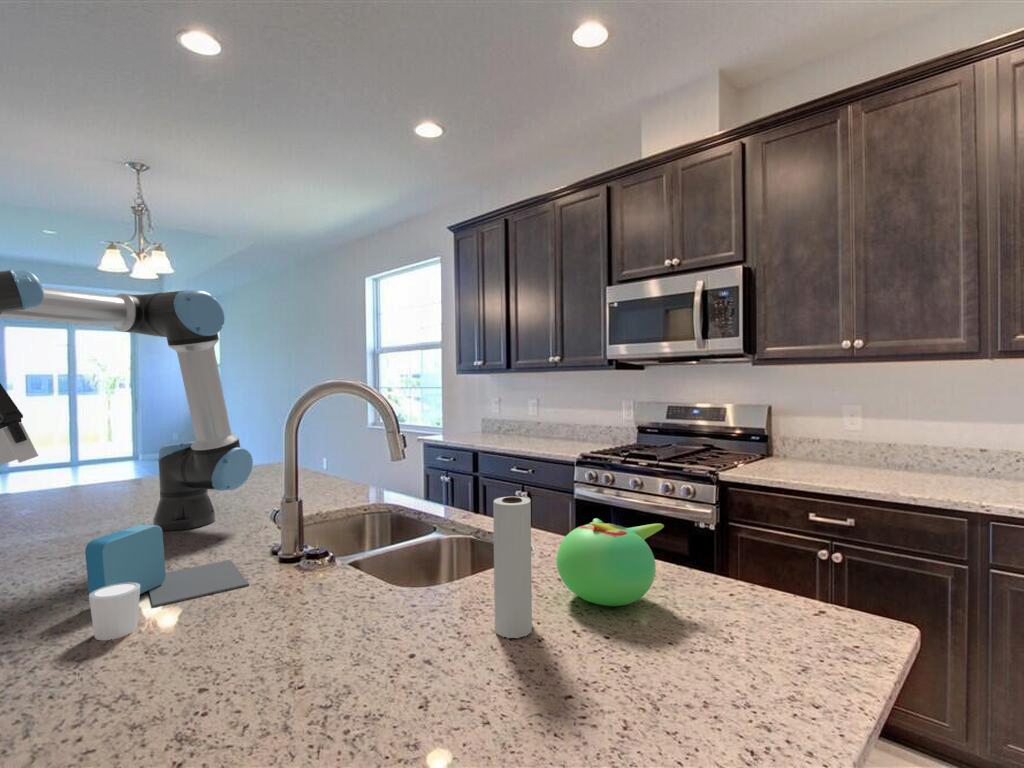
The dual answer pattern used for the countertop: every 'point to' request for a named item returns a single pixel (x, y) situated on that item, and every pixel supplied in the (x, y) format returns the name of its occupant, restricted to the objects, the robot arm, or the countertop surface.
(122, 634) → the white short cylinder
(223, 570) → the mat
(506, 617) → the paper towel roll
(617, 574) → the green rounded piece
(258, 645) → the countertop surface
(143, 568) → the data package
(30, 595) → the countertop surface
